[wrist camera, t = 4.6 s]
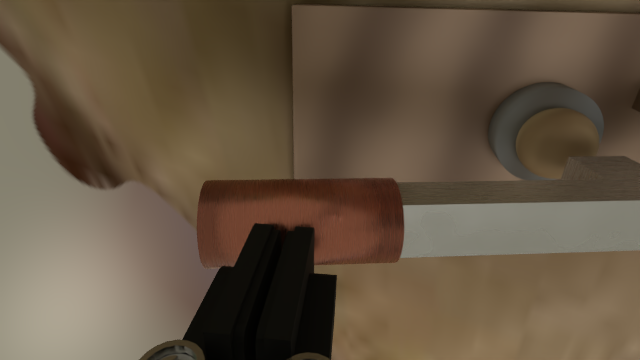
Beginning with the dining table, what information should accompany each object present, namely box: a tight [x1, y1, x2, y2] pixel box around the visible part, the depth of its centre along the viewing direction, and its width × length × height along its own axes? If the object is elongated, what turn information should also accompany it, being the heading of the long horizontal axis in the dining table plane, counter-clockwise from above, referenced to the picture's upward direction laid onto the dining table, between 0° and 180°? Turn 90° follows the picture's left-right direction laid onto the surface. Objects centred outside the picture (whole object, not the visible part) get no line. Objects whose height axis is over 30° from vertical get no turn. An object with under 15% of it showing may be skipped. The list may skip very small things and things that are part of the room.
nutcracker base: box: [292, 4, 640, 182], centre depth 18 cm, size 22×12×11 cm, turn 89°
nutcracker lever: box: [197, 156, 640, 269], centre depth 13 cm, size 22×3×4 cm, turn 89°
